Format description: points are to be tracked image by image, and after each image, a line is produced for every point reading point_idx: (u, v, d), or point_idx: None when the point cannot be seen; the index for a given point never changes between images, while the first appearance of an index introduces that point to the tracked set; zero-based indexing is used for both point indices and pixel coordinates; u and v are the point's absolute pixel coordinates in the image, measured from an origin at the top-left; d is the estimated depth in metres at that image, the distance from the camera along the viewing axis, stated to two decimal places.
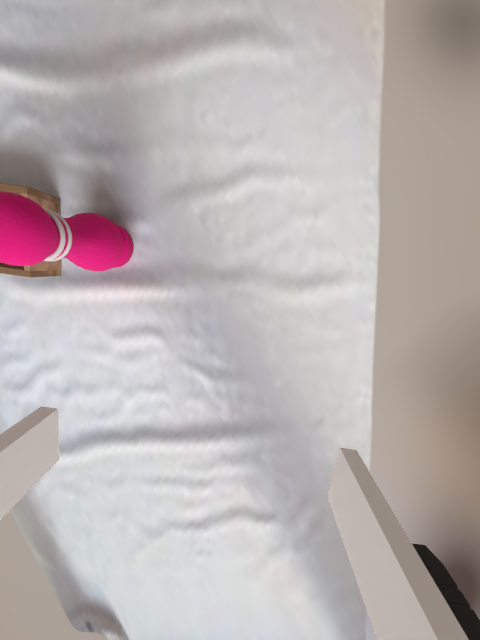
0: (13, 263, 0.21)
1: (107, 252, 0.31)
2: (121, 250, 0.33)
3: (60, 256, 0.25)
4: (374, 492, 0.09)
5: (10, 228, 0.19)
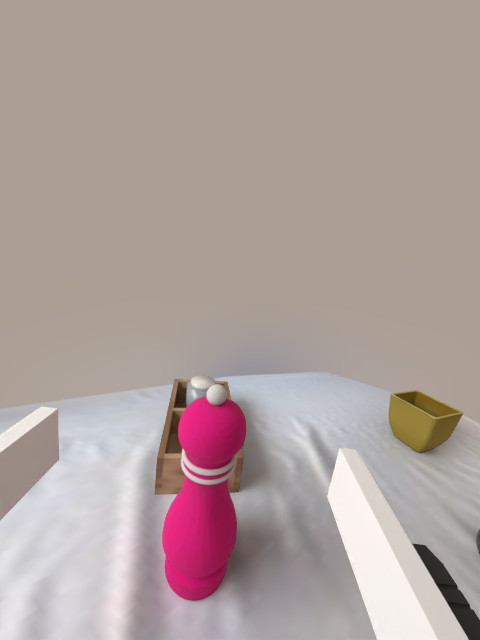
0: (182, 421, 0.21)
1: (191, 543, 0.21)
2: (195, 571, 0.21)
3: (187, 472, 0.21)
4: (374, 492, 0.09)
5: (217, 417, 0.20)
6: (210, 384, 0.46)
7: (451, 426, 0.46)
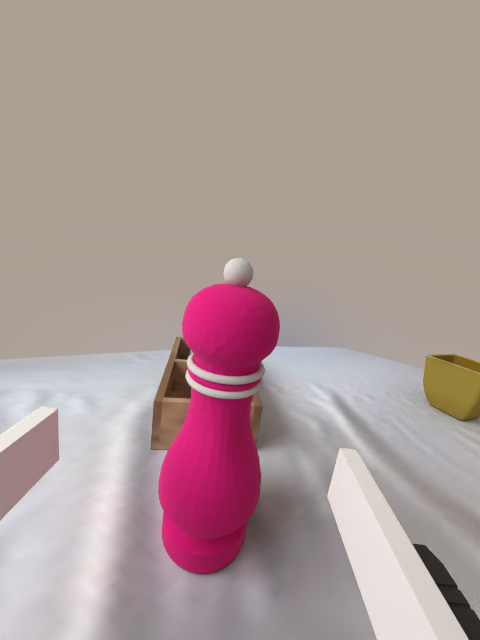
0: (187, 307, 0.14)
1: (200, 487, 0.15)
2: (204, 528, 0.15)
3: (195, 382, 0.15)
4: (374, 492, 0.09)
5: (241, 294, 0.14)
6: None
7: None
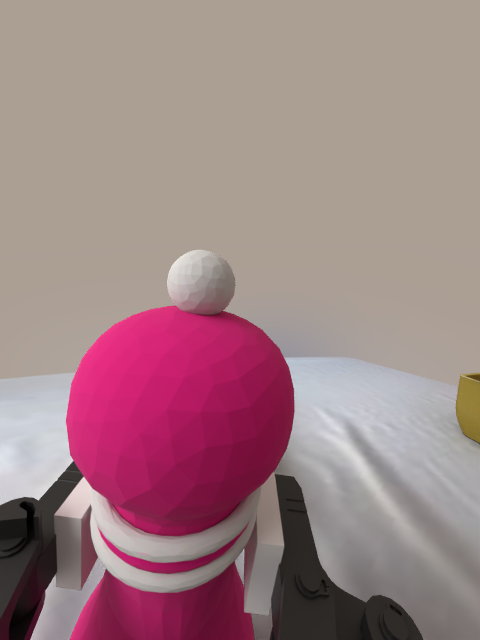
0: None
1: None
2: None
3: (100, 540, 0.06)
4: None
5: (199, 343, 0.05)
6: None
7: None
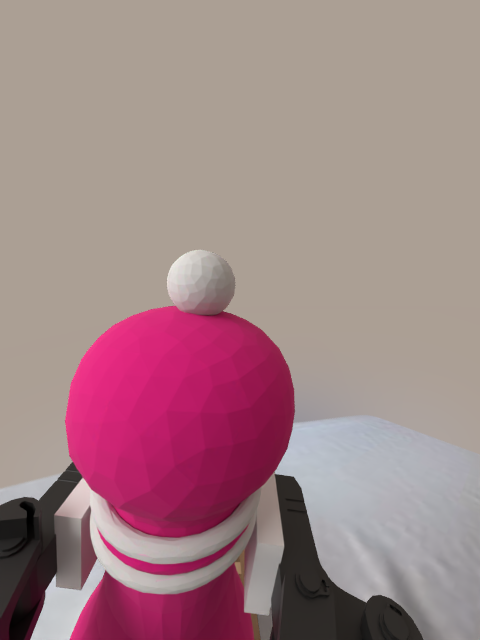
0: (78, 367, 0.06)
1: None
2: None
3: (100, 541, 0.06)
4: None
5: (199, 343, 0.05)
6: None
7: None
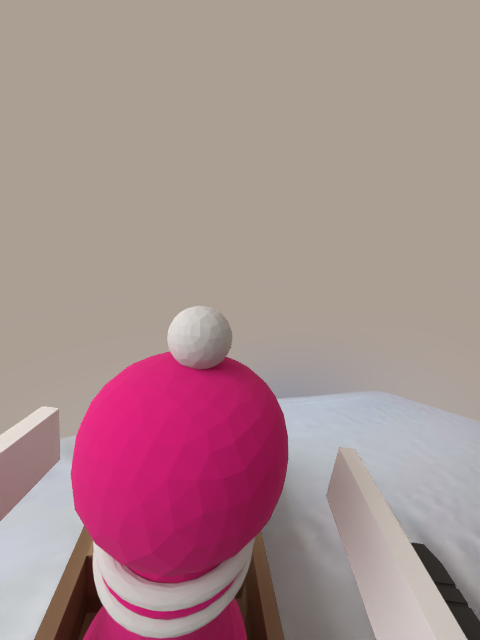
0: None
1: None
2: None
3: (103, 584, 0.07)
4: (373, 491, 0.09)
5: (198, 406, 0.06)
6: None
7: None
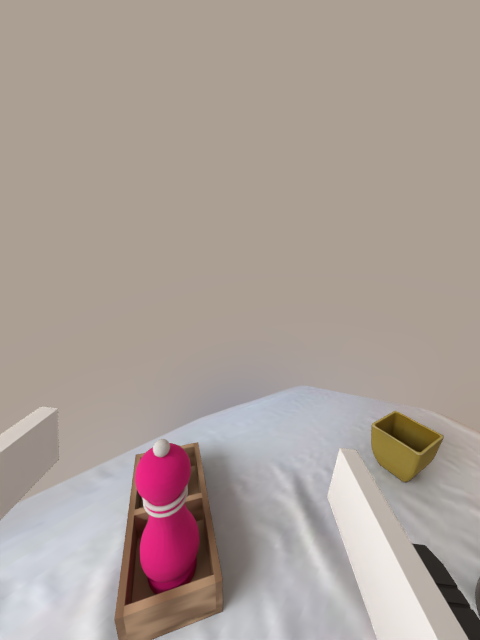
0: (136, 475, 0.27)
1: (161, 559, 0.28)
2: (167, 578, 0.28)
3: (148, 510, 0.27)
4: (374, 492, 0.09)
5: (162, 468, 0.26)
6: None
7: (433, 452, 0.45)
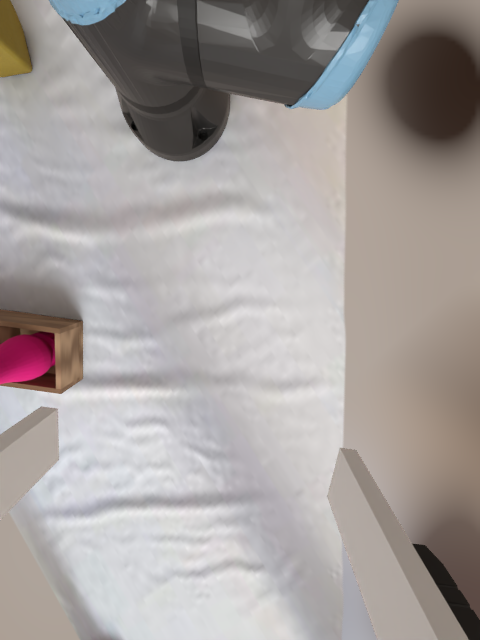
0: None
1: (33, 371, 0.37)
2: (48, 362, 0.39)
3: None
4: (374, 492, 0.09)
5: None
6: None
7: None
